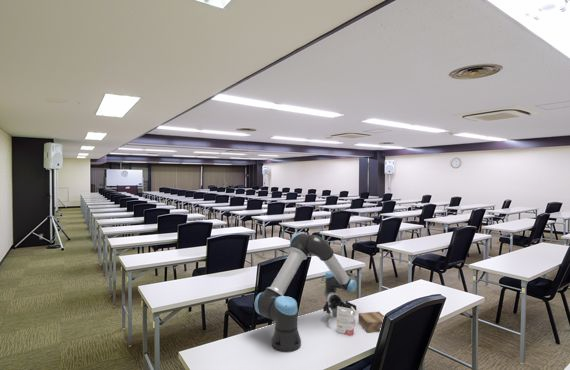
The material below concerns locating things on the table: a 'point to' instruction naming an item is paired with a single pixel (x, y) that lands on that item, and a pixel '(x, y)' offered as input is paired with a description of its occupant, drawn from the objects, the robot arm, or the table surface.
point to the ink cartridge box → (345, 321)
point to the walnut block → (371, 321)
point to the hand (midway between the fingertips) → (343, 313)
